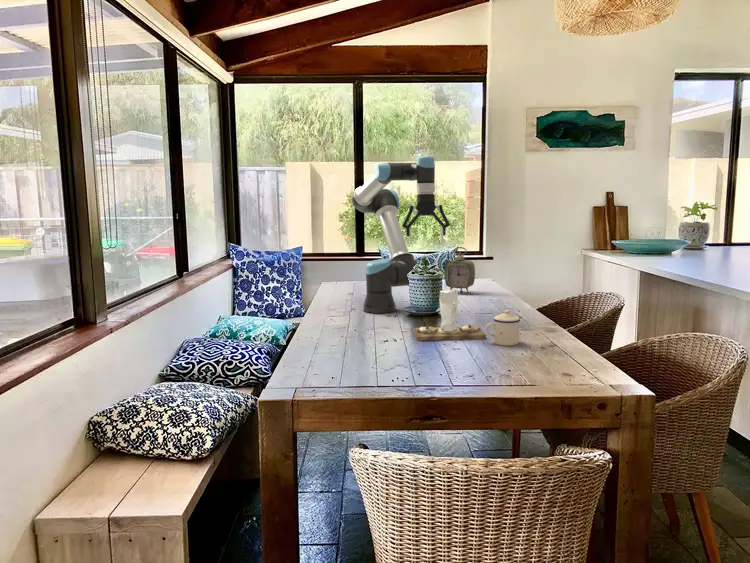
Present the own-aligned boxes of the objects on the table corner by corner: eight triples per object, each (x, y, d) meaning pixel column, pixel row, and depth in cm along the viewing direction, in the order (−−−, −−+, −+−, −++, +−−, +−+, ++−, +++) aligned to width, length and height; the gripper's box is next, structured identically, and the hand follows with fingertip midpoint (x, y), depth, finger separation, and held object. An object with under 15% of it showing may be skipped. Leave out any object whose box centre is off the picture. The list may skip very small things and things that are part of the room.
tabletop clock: (444, 293, 299) (444, 247, 296) (450, 291, 307) (450, 245, 303) (470, 295, 293) (470, 248, 289) (475, 292, 300) (476, 246, 297)
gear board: (417, 340, 203) (417, 330, 202) (413, 331, 217) (413, 322, 216) (485, 338, 204) (485, 329, 203) (477, 329, 218) (477, 320, 217)
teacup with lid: (515, 339, 202) (516, 307, 201) (522, 345, 193) (523, 312, 192) (482, 340, 202) (483, 308, 201) (488, 346, 193) (488, 313, 192)
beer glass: (460, 328, 212) (460, 289, 210) (454, 333, 206) (455, 292, 203) (442, 327, 215) (442, 288, 212) (436, 331, 208) (436, 291, 206)
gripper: (397, 194, 233) (397, 245, 236) (456, 193, 234) (456, 243, 237) (395, 194, 240) (396, 243, 243) (453, 193, 241) (453, 242, 244)
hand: (426, 243), depth 240 cm, fingers open, 13 cm apart
